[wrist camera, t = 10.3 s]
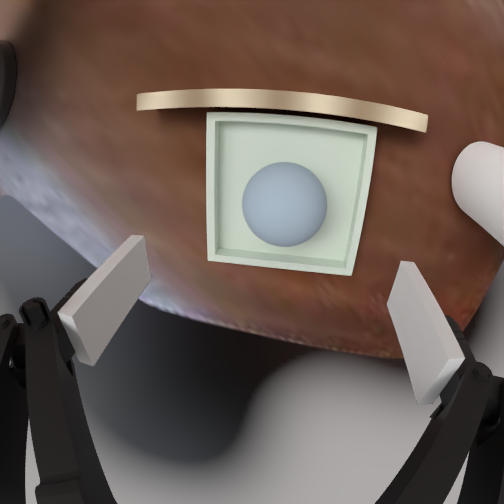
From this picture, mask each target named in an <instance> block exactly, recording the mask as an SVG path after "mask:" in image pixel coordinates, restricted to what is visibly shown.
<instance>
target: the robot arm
mask: <svg viewBox="0 0 504 504" xmlns="http://www.w3.org/2000/svg"><path fill="white" fill-rule="evenodd" d="M15 83H16V60H15V54H14V51H13V49H12V47H11V45H10V44H9V43H8V42H6V41H3V40H0V127H1V126H2V124H3V123H4V121H5V119H6V117H7V115H8V112H9V109H10V106H11V103H12V99H13V95H14V90H15ZM150 281H151V278H150V272H149V266H148V259H147V252H146V245H145V237H144V236H140V235H131V236H130V237H129V238H128V239H127V240H126V241H125V242H124V243H123V244H122V245H121V246H120V247H119V248H118V249H117V250H116V251H115V252H114V253H113V254H112V255H111V256H110V257H109V258H108V259H107V260H106V261H105V262H104V263H103V264H102V265H101V266H100V267H99V268H98V269H97V270H96V271H95V272H94V273H93V274H92V275H91V276H90V277H89V278H88V279H86V278H85V279H83V280H82V281H80V282H78V283H77V284H75V286H74V287H73V288H72V289H71V290H70V292H68V293H67V294H66V295H65V297H63V298H62V299H61V300H60V302H59V303H58V304H57V305H56V306H55V307H54V308H53V309H52V310H51V312H50V311H49V309H48V306H47V303H46V301H45V300H44V299H43V298H39V297H37V298H32V299H30V300H27V301H26V302H24V303H23V304H22V306H21V307H20V309H19V313H20V315H21V317H22V319H23V322H24V323H23V324H22V323H17V322H16V320H15V317H14V316H13V315H12V314H4V315H1V316H0V504H26V498H25V460H26V441H27V430H28V420H30V427H31V435H32V441H33V447H34V452H35V458H36V463H37V468H38V472H39V476H40V484H39V485H38V486H37V487H36V489H35V495H36V500H37V504H117V502H116V501H115V499H114V497H113V495H112V492H111V490H110V487H109V485H108V483H107V480H106V477H105V475H104V472H103V470H102V467H101V464H100V462H99V458H98V456H97V453H96V450H95V447H94V444H93V440H92V437H91V434H90V431H89V427H88V424H87V420H86V416H85V413H84V409H83V405H82V401H81V397H80V393H79V388H78V383H77V379H76V373H75V368H74V363H73V361H72V359H71V358H72V356H73V355H74V353H76V355H77V357H78V359H79V361H80V362H82V363H85V364H88V365H91V366H94V365H95V363H96V362H97V360H98V358H99V357H100V355H101V354H102V352H103V350H104V349H105V347H106V346H107V344H108V343H109V341H110V339H111V338H112V337H113V335H114V333H115V332H116V330H117V329H118V327H119V326H120V324H121V323H122V321H123V320H124V318H125V317H126V315H127V314H128V312H129V311H130V309H131V308H132V306H133V305H134V303H135V302H136V301H137V299H138V298H139V296H140V295H141V293H142V292H143V291H144V289H145V288H146V286H147V285H148V283H149V282H150ZM387 307H388V310H389V313H390V315H391V318H392V321H393V324H394V327H395V330H396V333H397V336H398V339H399V342H400V346H401V349H402V352H403V355H404V359H405V362H406V365H407V369H408V372H409V376H410V379H411V383H412V386H413V390H414V394H415V398H416V402H417V405H425V404H433V403H434V401H435V400H436V399H437V397H438V396H439V395H440V398H441V401H442V403H441V404H440V405H439V406H438V408H437V409H436V410H435V411H434V412H433V413H432V415H431V416H430V417H431V418H432V419H431V421H430V423H429V425H428V426H427V428H426V430H425V432H424V433H423V435H422V437H421V438H420V440H419V442H418V443H417V445H416V447H415V448H414V450H413V451H412V453H411V455H410V456H409V458H408V459H407V461H406V462H405V464H404V465H403V467H402V468H401V469H400V471H399V472H398V474H397V475H396V477H395V478H394V479H393V481H392V482H391V484H390V485H389V486H388V487H387V489H386V490H385V492H384V493H383V494H382V495H381V496H380V498H379V499H378V500H377V501H376V503H375V504H443V502H444V501H445V499H446V497H447V495H448V494H449V492H450V490H451V488H452V486H453V484H454V482H455V480H456V478H457V476H458V474H459V472H460V470H461V468H462V466H463V463H464V461H465V459H466V457H467V454H468V452H469V456H468V461H467V467H466V471H465V475H464V480H463V484H462V488H461V492H460V495H459V499H458V502H457V504H504V378H502V377H497V376H493V375H492V372H491V370H490V369H489V368H488V367H487V366H486V365H485V364H483V363H481V362H476V360H475V358H474V356H473V354H472V352H471V349H470V347H469V345H468V343H467V341H466V340H465V337H464V335H463V333H461V330H460V328H459V326H458V324H457V323H456V322H455V321H454V320H453V319H452V318H451V317H450V316H444V314H443V312H442V310H441V308H440V306H439V305H438V303H437V301H436V299H435V297H434V296H433V294H432V292H431V290H430V288H429V287H428V285H427V283H426V282H425V280H424V278H423V276H422V275H421V273H420V271H419V270H418V268H417V266H416V265H415V263H414V262H408V261H401V262H400V266H399V269H398V272H397V275H396V278H395V281H394V284H393V287H392V290H391V293H390V296H389V299H388V302H387ZM10 361H11V364H10V366H9V362H10ZM469 450H470V451H469Z"/></svg>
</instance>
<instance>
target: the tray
mask: <svg viewBox="0 0 504 504" xmlns="http://www.w3.org/2000/svg"><path fill="white" fill-rule="evenodd" d="M376 135H377V127H374V126H370V125H364V124H359V123H352V122H346V121H339V120H332V119H324V118H315V117H306V116H296V115H284V114H270V113H251V112H207V131H206V205H207V250H208V261H217V262H226V263H235V264H244V265H253V266H262V267H271V268H281V269H290V270H299V271H309V272H319V273H329V274H338V275H348V276H351V275H352V271H353V267H354V263H355V258H356V254H357V249H358V245H359V240H360V235H361V230H362V225H363V220H364V215H365V209H366V204H367V198H368V192H369V186H370V180H371V173H372V166H373V159H374V152H375V144H376ZM278 162H290V163H295V164H299V165H301V166H303V167H305V168H307V169H309V170H310V171H311V172H312V173H314V174H315V176H316V177H317V178H318V179H319V180H320V182H321V184H322V186H323V187H324V190H325V193H326V197H327V213H326V217H325V219H324V222H323V224H322V226H321V228H320V229H319V231H318V232H317V233H316V234H315V235H314V236H313V237H312V238H310V239H309V240H307V241H306V242H304V243H302V244H299V245H296V246H291V247H279V246H274V245H271V244H268V243H266V242H264V241H263V240H261V239H260V238H258V237H257V236H256V235H255V234H254V233H253V232H252V231H251V230H250V228H249V227H248V225H247V223H246V221H245V218H244V215H243V210H242V198H243V193H244V190H245V188H246V185H247V183H248V182H249V180H250V179H251V178H252V176H253V175H254V174H255V173H256V172H258V171H259V170H260V169H262V168H263V167H265V166H267V165H270V164H273V163H278Z"/></svg>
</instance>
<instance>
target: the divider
mask: <svg viewBox="0 0 504 504" xmlns="http://www.w3.org/2000/svg"><path fill="white" fill-rule="evenodd" d="M184 107H249V108H269V109H284V110H296V111H306V112H315V113H324V114H332V115H339V116H346V117H352V118H358V119H364V120H370V121H375V122H381V123H386V124H391V125H395V126H400V127H404V128H409V129H413V130H417V131H421V132H425V133H426V129H427V120H428V115H425V114H422V113H418V112H414V111H410V110H406V109H402V108H397V107H393V106H388V105H383V104H378V103H373V102H368V101H362V100H357V99H350V98H344V97H337V96H330V95H322V94H313V93H304V92H293V91H279V90H261V89H194V90H175V91H162V92H151V93H142V94H137V111H138V110H150V109H164V108H184Z"/></svg>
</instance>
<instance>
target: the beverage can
mask: <svg viewBox="0 0 504 504" xmlns="http://www.w3.org/2000/svg"><path fill="white" fill-rule="evenodd" d="M452 191H453V195H454V198H455V201H456V203H457V204H458V206H459V207H460V208H461V209H462V210H463V211H464V212H465V213H466V214H467V215H468V216H470V217H471V218H472V219H473V220H475V221H476V222H477V223H478V224H479V225H480V226H482V227H483V228H484V229H485V230H486V231H487V232H488V233H490V234H491V235H492V236H493V237H494V238H495V239H496V240H497V241H498V242H500V243H501V244H502V245H503V246H504V148H503V147H500V146H497V145H494V144H491V143H488V142H482V141H480V142H475V143H472V144H470V145H468V146H467V147H466V148H465V149H464V150H463V151H462V152H461V153H460V154H459V156H458V158H457V160H456V162H455V164H454V167H453V172H452Z"/></svg>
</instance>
